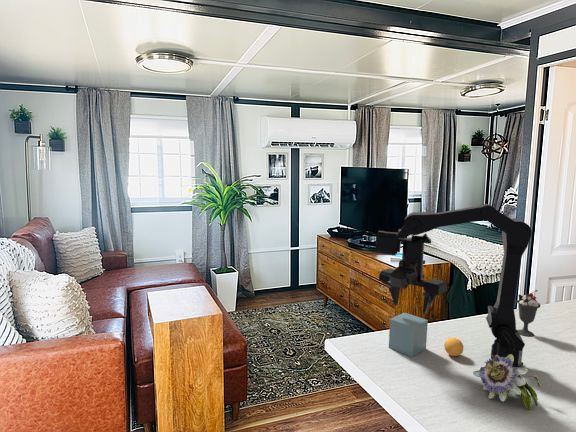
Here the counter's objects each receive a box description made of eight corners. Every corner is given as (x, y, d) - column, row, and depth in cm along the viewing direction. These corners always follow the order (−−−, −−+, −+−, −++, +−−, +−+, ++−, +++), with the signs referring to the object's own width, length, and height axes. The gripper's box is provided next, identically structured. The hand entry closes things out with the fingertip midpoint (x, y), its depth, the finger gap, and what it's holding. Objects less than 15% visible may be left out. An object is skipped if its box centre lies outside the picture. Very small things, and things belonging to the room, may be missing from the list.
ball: (465, 355, 111) (467, 338, 111) (458, 361, 108) (459, 344, 107) (448, 349, 115) (449, 333, 114) (440, 354, 111) (441, 338, 111)
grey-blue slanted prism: (425, 348, 115) (427, 320, 114) (412, 357, 110) (414, 327, 109) (402, 339, 121) (404, 312, 119) (388, 347, 115) (390, 319, 114)
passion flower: (490, 420, 92) (461, 370, 95) (514, 397, 97) (487, 351, 101) (532, 419, 83) (499, 364, 86) (556, 394, 88) (524, 343, 91)
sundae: (541, 338, 122) (546, 292, 120) (517, 336, 124) (522, 290, 122) (532, 330, 129) (537, 286, 127) (510, 328, 130) (514, 284, 128)
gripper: (368, 255, 113) (366, 307, 115) (429, 268, 99) (426, 327, 101) (390, 249, 120) (387, 298, 122) (449, 261, 107) (445, 316, 109)
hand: (409, 309), depth 114 cm, fingers open, 9 cm apart
